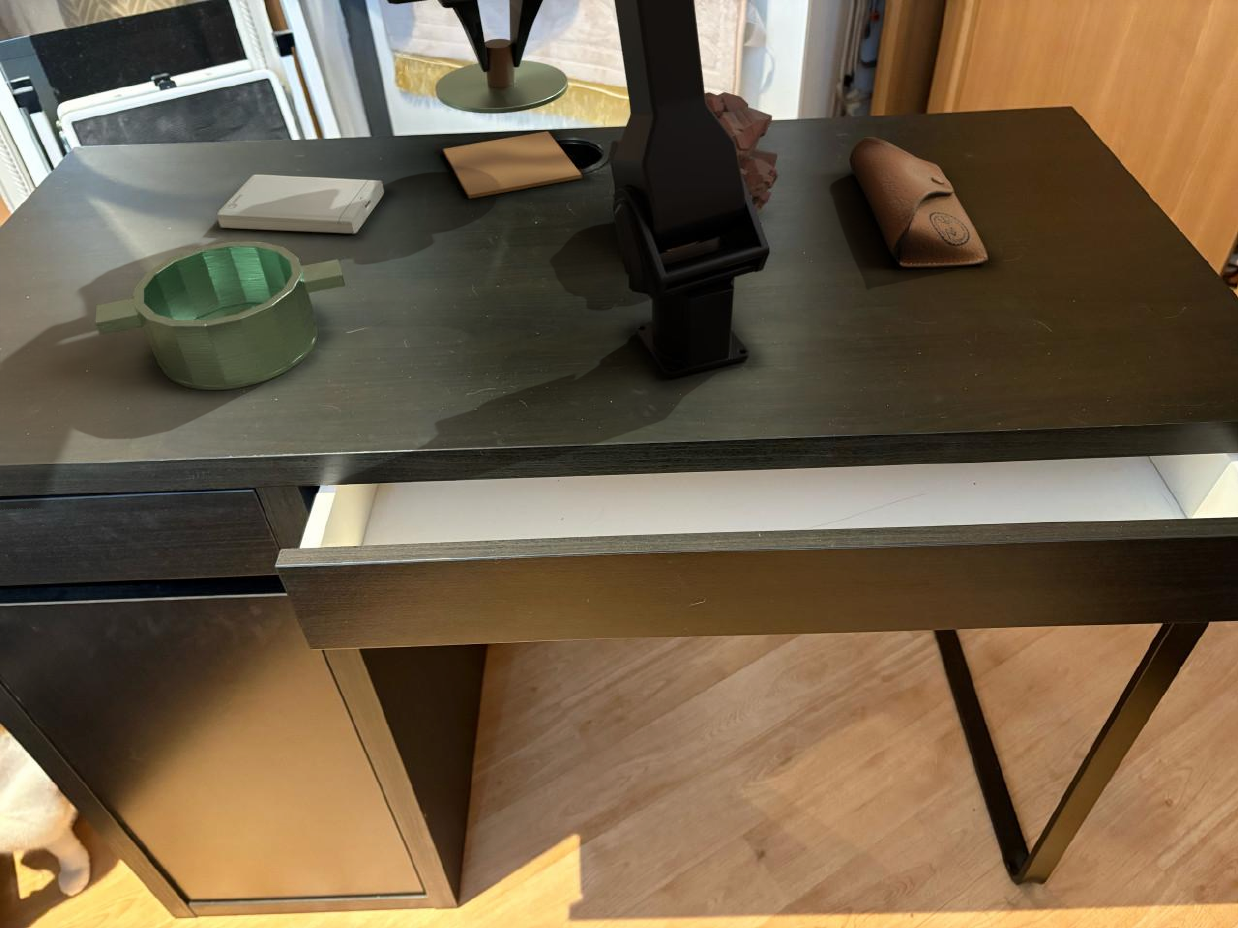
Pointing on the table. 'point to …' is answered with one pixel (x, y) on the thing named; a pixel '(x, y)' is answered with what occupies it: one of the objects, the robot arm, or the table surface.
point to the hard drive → (301, 204)
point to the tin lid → (501, 83)
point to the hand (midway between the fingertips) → (500, 68)
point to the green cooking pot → (226, 313)
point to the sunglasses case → (915, 208)
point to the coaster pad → (510, 164)
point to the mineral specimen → (746, 144)
